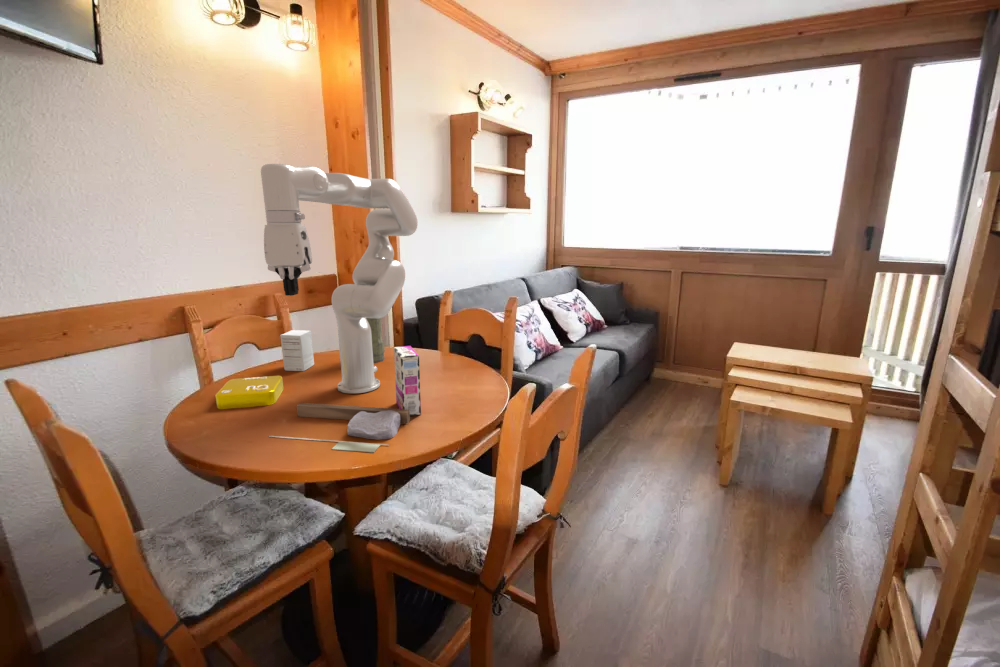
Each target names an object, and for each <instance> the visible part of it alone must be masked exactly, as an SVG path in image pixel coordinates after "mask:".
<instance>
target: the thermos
mask: <svg viewBox="0 0 1000 667" xmlns="http://www.w3.org/2000/svg"><path fill="white" fill-rule="evenodd" d="M366 319H367V321H368V323H369V325H370V328H371V334H372V349H373V363H374V364H377V363H380V362H383V361H385V359H386V358H385V351H386V350H385V343H384V340H383V330H382V329H383V328H382V318H379V319H374V318H366Z"/></svg>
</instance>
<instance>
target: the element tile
mask: <svg viewBox="0 0 1000 667" xmlns="http://www.w3.org/2000/svg"><path fill="white" fill-rule="evenodd" d="M283 381H284V380H283V377H282V375H269V376H256V377H254V376H253V377H241V378H239V377H238V378H230V379H229V380H227V381H226V383H224V385H223V386H222V387H221V388H220V389H219V390H218V391H217V392H216V393H215V395H214V396H215V401H216V402H215V403H216V408H217V409H219V410H228V409H241V408H242V409H243V408H251V407H252V408H254V407H262V406H265V407H267V406H270V405H271V406H272V405H273V404H275V403H277V401H278V400H279V398H280V396H281V394H282V392H283V390H284V382H283Z"/></svg>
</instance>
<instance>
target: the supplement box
mask: <svg viewBox="0 0 1000 667" xmlns="http://www.w3.org/2000/svg"><path fill="white" fill-rule="evenodd" d="M279 337H280V342H281V344H280V345H281V352H282V354H281V355H282V361H283V370H284V371H291V372H292V371H294V372H305V371H306V370H308V369H310V368H311V367H313V366H314V365H315V358H314V349H313V341H312V340H313V339H312V331H311V330H306V329H305V330H304V329H303V330H302V329H291V330H289V331H286V332H285V333H282V334H280V336H279Z"/></svg>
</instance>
